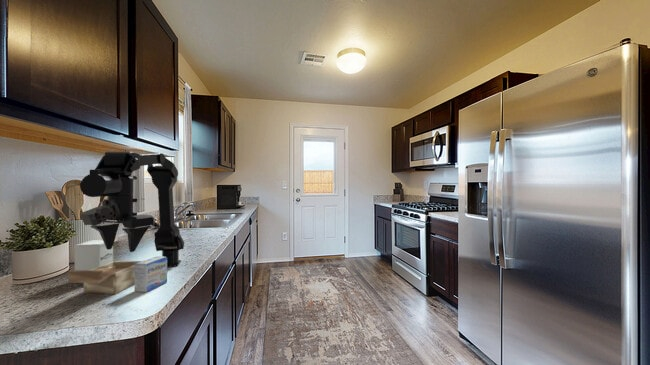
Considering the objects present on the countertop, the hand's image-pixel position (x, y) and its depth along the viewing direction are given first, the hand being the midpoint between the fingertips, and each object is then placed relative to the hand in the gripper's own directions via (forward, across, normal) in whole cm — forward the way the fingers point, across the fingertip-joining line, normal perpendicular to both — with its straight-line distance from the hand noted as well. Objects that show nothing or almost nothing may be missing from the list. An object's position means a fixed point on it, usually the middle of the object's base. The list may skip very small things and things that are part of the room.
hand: (120, 250), depth 70 cm
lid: (+9, -10, +1) cm, 13 cm away
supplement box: (+14, -26, +8) cm, 30 cm away
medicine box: (+14, 0, +9) cm, 17 cm away
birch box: (+14, -12, +6) cm, 19 cm away
